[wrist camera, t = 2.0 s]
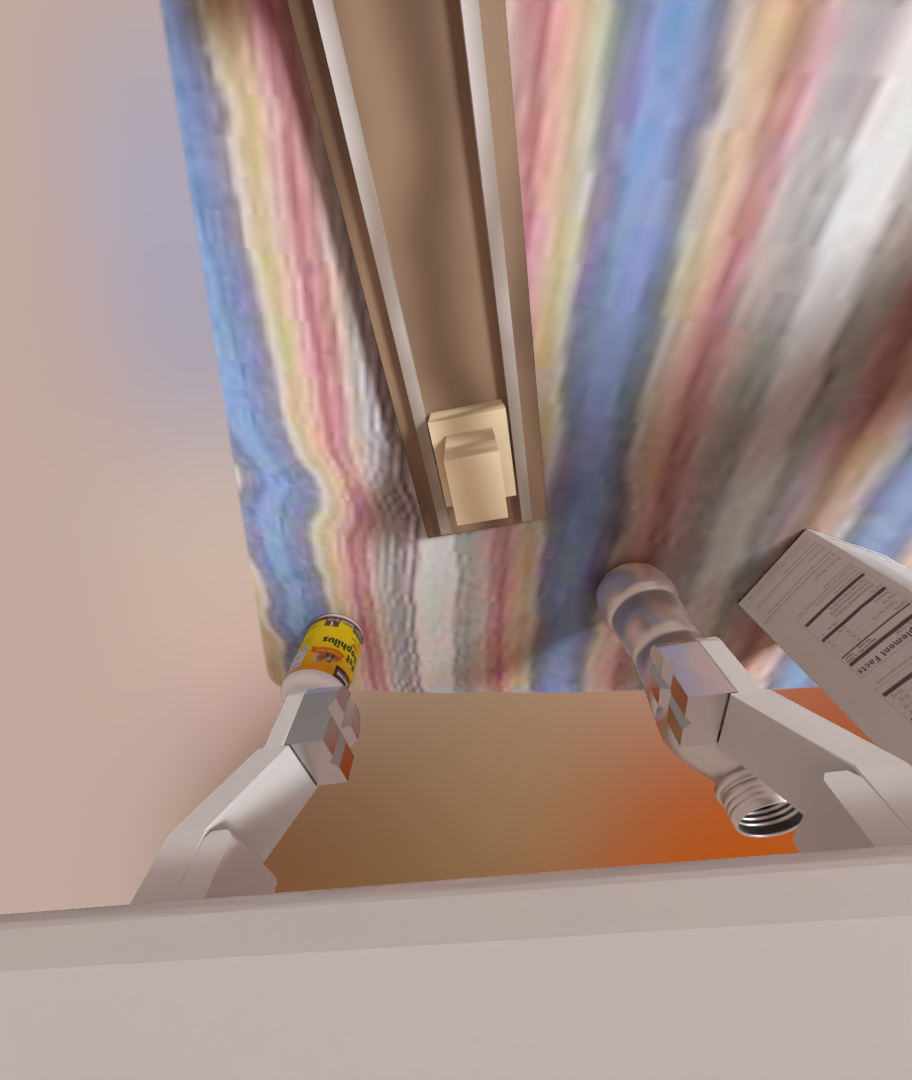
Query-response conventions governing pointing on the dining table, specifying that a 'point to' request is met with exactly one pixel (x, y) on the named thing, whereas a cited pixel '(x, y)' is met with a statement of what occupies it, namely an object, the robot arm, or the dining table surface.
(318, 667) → the supplement bottle
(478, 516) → the block
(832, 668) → the supplement box
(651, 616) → the plastic bottle
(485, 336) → the rail board
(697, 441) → the dining table surface
